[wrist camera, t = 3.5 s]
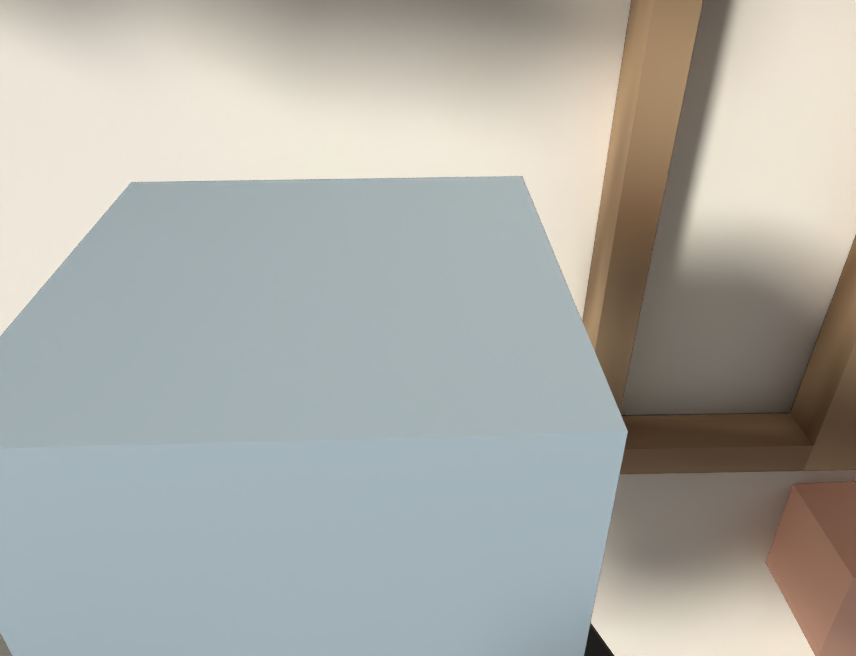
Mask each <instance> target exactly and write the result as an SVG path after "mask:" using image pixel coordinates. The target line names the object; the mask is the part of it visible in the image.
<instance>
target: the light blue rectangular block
mask: <svg viewBox="0 0 856 656" xmlns="http://www.w3.org/2000/svg"><path fill="white" fill-rule="evenodd" d="M627 433H628V431H627V428H626V426H625V423H624V421H623V419H622V416H621V414H620V411H619V409H618V407H617V404H616V402H615V399H614V397H613V394H612V392H611V390H610V387H609V385H608V382H607V380H606V377H605V375H604V373H603V370H602V368H601V365H600V363H599V361H598V358H597V356H596V353H595V351H594V348H593V346H592V344H591V341H590V339H589V336H588V334H587V332H586V329H585V327H584V324H583V322H582V319H581V317H580V315H579V312H578V310H577V307H576V305H575V303H574V300H573V298H572V295H571V293H570V290H569V288H568V286H567V283H566V281H565V278H564V276H563V274H562V271H561V269H560V266H559V264H558V261H557V259H556V257H555V254H554V252H553V249H552V247H551V244H550V242H549V240H548V237H547V235H546V232H545V230H544V228H543V225H542V223H541V220H540V218H539V215H538V213H537V211H536V208H535V206H534V203H533V201H532V199H531V196H530V194H529V191H528V189H527V186H526V184H525V182H524V179H523V177H522V176H502V177H437V178H372V179H306V180H241V181H176V182H131V183H130V184H129V186H128V187H127V188H126V189H125V190H124V191H123V193H122V194H121V195H120V196H119V197H118V198H117V200H116V201H115V202H114V203H113V204H112V206H111V207H110V208H109V209H108V210H107V211H106V213H105V214H104V215H103V216H102V217H101V218H100V220H99V221H98V222H97V223H96V224H95V226H94V227H93V228H92V229H91V230H90V231H89V233H88V234H87V235H86V236H85V237H84V238H83V240H82V241H81V242H80V243H79V244H78V246H77V247H76V248H75V249H74V250H73V251H72V253H71V254H70V255H69V256H68V257H67V259H66V260H65V261H64V262H63V263H62V264H61V266H60V267H59V268H58V269H57V270H56V271H55V273H54V274H53V275H52V276H51V277H50V279H49V280H48V281H47V282H46V283H45V284H44V286H43V287H42V288H41V289H40V290H39V291H38V293H37V294H36V295H35V296H34V297H33V299H32V300H31V301H30V302H29V303H28V304H27V306H26V307H25V308H24V309H23V310H22V311H21V313H20V314H19V315H18V316H17V317H16V319H15V320H14V321H13V322H12V323H11V324H10V326H9V327H8V328H7V329H6V330H5V331H4V333H3V334H2V335H1V336H0V634H1V636H2V638H3V639H4V641H5V643H6V645H7V647H8V649H9V651H10V653H11V654H12V656H584V653H585V648H586V643H587V638H588V633H589V628H590V622H591V617H592V612H593V607H594V602H595V597H596V592H597V587H598V581H599V576H600V571H601V566H602V561H603V556H604V551H605V546H606V541H607V535H608V530H609V525H610V520H611V515H612V510H613V505H614V500H615V494H616V489H617V484H618V479H619V474H620V469H621V464H622V459H623V454H624V448H625V443H626V438H627Z"/></svg>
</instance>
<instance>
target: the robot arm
mask: <svg viewBox="0 0 856 656" xmlns="http://www.w3.org/2000/svg"><path fill="white" fill-rule="evenodd" d="M584 656H614V655H613V653H612V652H611V650H610V649H609V648H608V646H607V645H606V643H605V642H604V641H603V639H602V638H601V636H600V635H599V634H598V632H597V631H596V629H595V628H594V627H593V625H592V624H591V622H590V628H589V633H588V638H587V643H586V648H585V653H584Z"/></svg>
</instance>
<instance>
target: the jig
mask: <svg viewBox="0 0 856 656" xmlns="http://www.w3.org/2000/svg"><path fill="white" fill-rule="evenodd" d="M702 3H703V0H631V5H630V11H629V18H628V25H627V31H626V38H625V44H624V51H623V58H622V64H621V71H620V77H619V84H618V90H617V97H616V104H615V110H614V117H613V123H612V130H611V137H610V143H609V150H608V156H607V163H606V169H605V176H604V183H603V189H602V196H601V202H600V209H599V216H598V222H597V229H596V235H595V242H594V248H593V255H592V262H591V268H590V275H589V281H588V288H587V295H586V301H585V308H584V314H583V321H582V322H583V324H584V327H585V329H586V332H587V334H588V336H589V339H590V341H591V344H592V346H593V348H594V351H595V353H596V356H597V358H598V361H599V363H600V365H601V368H602V370H603V373H604V375H605V377H606V380H607V382H608V385H609V387H610V390H611V392H612V394H613V397H614V399H615V402H616V404H617V407H618V409H619V411H620V409H621V404H622V399H623V394H624V389H625V384H626V379H627V374H628V369H629V364H630V359H631V355H632V350H633V345H634V340H635V335H636V330H637V325H638V320H639V315H640V310H641V305H642V300H643V295H644V290H645V285H646V280H647V275H648V270H649V265H650V260H651V255H652V251H653V246H654V241H655V236H656V231H657V226H658V221H659V216H660V211H661V206H662V201H663V196H664V191H665V186H666V181H667V176H668V171H669V166H670V161H671V156H672V152H673V147H674V142H675V137H676V132H677V127H678V122H679V117H680V112H681V107H682V102H683V97H684V92H685V87H686V82H687V77H688V72H689V67H690V62H691V57H692V52H693V48H694V43H695V38H696V33H697V28H698V23H699V18H700V13H701V8H702ZM622 419H623V421H624V423H625V426H626V428H627V431H628V433H627V438H626V443H625V448H624V454H623V459H622V464H621V469H620V474H660V473H713V472H766V471H819V470H856V236H855V239H854V241H853V244H852V247H851V249H850V252H849V255H848V258H847V260H846V263H845V266H844V268H843V271H842V274H841V277H840V279H839V282H838V285H837V287H836V290H835V293H834V296H833V298H832V301H831V304H830V306H829V309H828V312H827V315H826V317H825V320H824V323H823V325H822V328H821V331H820V334H819V336H818V339H817V342H816V344H815V347H814V350H813V353H812V355H811V358H810V361H809V363H808V366H807V369H806V372H805V374H804V377H803V380H802V382H801V385H800V388H799V391H798V393H797V396H796V399H795V401H794V404H793V407H792V409H791V412H790V413H778V414H714V415H650V416H622Z"/></svg>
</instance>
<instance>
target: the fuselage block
mask: <svg viewBox="0 0 856 656" xmlns="http://www.w3.org/2000/svg"><path fill="white" fill-rule="evenodd" d="M766 564H767V566H768V568H769V570H770V571H771V573H772V575H773V577H774V579H775V581H776V583H777V585H778V586H779V588H780V590H781V592H782V594H783V596H784V598H785V600H786V601H787V603H788V605H789V607H790V609H791V611H792V613H793V615H794V616H795V618H796V620H797V622H798V624H799V626H800V628H801V630H802V631H803V633H804V635H805V637H806V639H807V641H808V643H809V645H810V646H811V648H812V650H813V652H814V654H815V656H856V481H851V482H830V483H809V484H793V486H792V489H791V492H790V495H789V497H788V500H787V503H786V506H785V509H784V512H783V515H782V518H781V520H780V523H779V526H778V529H777V532H776V535H775V538H774V540H773V543H772V546H771V549H770V552H769V555H768V558H767V561H766Z"/></svg>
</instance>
